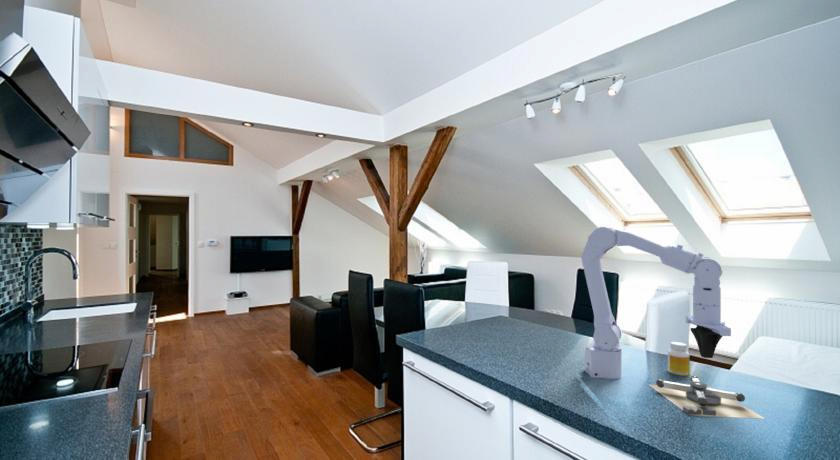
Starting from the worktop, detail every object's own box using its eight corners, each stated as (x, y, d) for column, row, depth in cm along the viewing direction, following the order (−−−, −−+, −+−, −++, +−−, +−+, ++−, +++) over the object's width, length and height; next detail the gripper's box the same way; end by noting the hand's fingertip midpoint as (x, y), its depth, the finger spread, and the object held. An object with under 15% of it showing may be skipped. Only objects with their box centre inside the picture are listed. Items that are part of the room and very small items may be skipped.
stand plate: (689, 420, 86) (689, 415, 86) (648, 388, 104) (648, 384, 104) (765, 424, 85) (765, 418, 85) (710, 391, 103) (710, 386, 103)
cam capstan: (754, 422, 83) (754, 405, 83) (656, 403, 92) (656, 388, 92) (737, 393, 99) (737, 379, 99) (655, 379, 108) (655, 366, 108)
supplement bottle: (693, 380, 111) (693, 346, 111) (672, 378, 112) (672, 345, 112) (684, 373, 116) (684, 341, 116) (664, 372, 117) (664, 340, 117)
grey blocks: (688, 414, 87) (688, 406, 87) (682, 410, 89) (682, 402, 89) (716, 415, 86) (716, 407, 86) (710, 411, 88) (710, 403, 88)
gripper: (744, 310, 92) (744, 367, 92) (704, 300, 106) (704, 349, 106) (713, 309, 92) (713, 366, 92) (677, 299, 107) (677, 348, 107)
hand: (706, 357), depth 99 cm, fingers closed
